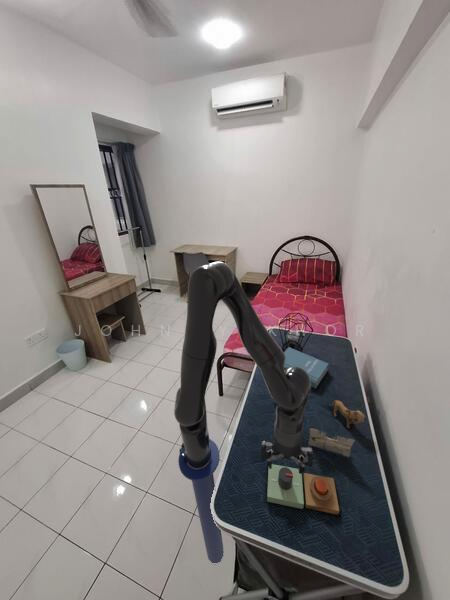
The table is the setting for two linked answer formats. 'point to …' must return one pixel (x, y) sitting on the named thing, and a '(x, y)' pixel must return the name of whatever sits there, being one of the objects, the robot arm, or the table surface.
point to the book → (306, 365)
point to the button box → (317, 500)
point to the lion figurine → (348, 413)
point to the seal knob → (285, 478)
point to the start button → (321, 486)
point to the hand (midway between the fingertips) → (284, 467)
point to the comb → (330, 442)
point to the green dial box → (282, 496)
